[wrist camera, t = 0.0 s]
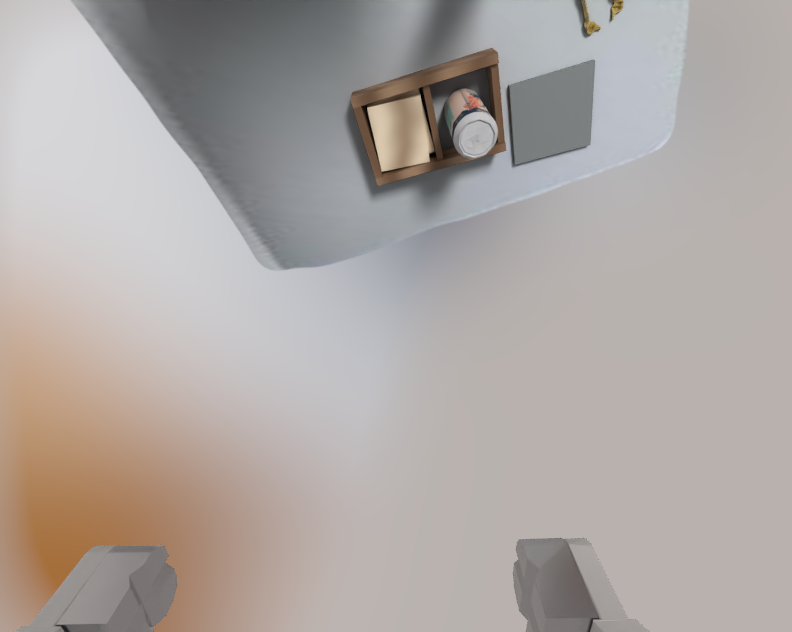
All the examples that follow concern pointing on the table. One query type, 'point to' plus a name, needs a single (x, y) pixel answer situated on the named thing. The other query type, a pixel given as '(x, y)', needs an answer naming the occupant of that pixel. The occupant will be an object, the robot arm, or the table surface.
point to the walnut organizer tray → (417, 119)
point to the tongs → (592, 26)
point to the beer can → (470, 124)
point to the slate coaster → (552, 112)
